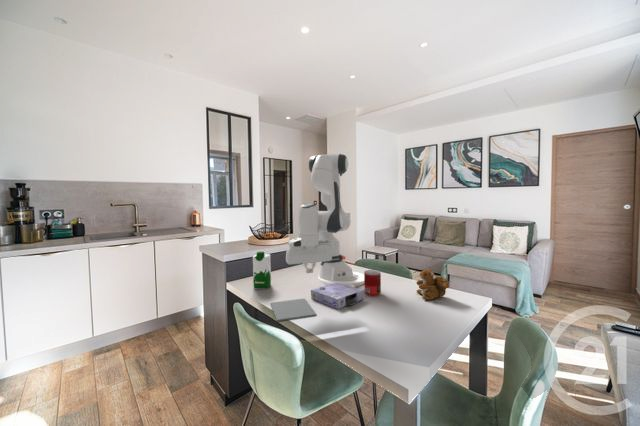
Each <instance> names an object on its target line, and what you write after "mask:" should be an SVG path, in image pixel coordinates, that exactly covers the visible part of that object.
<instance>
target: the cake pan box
mask: <svg viewBox="0 0 640 426" xmlns="http://www.w3.org/2000/svg"><path fill="white" fill-rule="evenodd" d="M364 294H365V291H364V290H363V289H360V288H357V287H356V288H354V287H351V286H347V285H343V284H340V283H333V284H330V285H323V286H320V287H316V288H313V289H310V295H311V296H310V297H311V299H312V300H314V301H316V302H319V303H321V304H324V305H326V306H329V307H332V308H334V309H336V310H339V309H342V308H345V307H347V306H348V307H349V306H351V305H354V304H356V303H357V302H360V301H362V300H364Z"/></svg>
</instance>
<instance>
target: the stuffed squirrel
mask: <svg viewBox="0 0 640 426" xmlns="http://www.w3.org/2000/svg"><path fill="white" fill-rule="evenodd" d="M434 274H435V273H434V272H433V271H432V269H430V268H426V269H424V270H422V271H420V273H419V274H418V278H421V279H420V280H417V281H416V282H415V283H416V285H417V286H418V288H419V289H417V290H416V293H417V294H419V295H422V300H434V299H436V298H442V297H444V296H445V295H446V293H447V291H446V290H447V289H448V288H450V281H449V280H448V279H447V278H446V277H443V276H436V277H434Z"/></svg>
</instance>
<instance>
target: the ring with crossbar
mask: <svg viewBox="0 0 640 426" xmlns="http://www.w3.org/2000/svg"><path fill="white" fill-rule="evenodd" d="M353 274H354V275H356V276H357V279H356V280H350V281H333V280H324V279H321V278H319V276H318V277H317V279H318V278H319V279H318V281H319V282H320V283H322V284H323V285H325V284H326V285H330V284H333V283H340V284H343V285H347V286H351V287H354V288H357V287H360V286H361V285H364V273H360V272H357V271H353ZM326 285H325V286H326Z"/></svg>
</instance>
